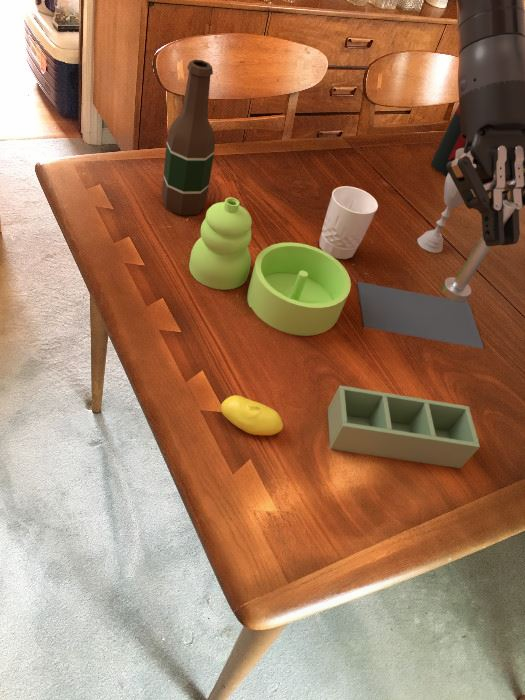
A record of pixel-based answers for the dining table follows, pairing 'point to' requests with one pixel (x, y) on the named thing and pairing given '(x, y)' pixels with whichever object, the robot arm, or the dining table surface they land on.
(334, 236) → the white cup
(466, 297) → the metal rod stand
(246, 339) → the dining table surface
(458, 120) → the wine bottle
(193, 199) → the beer bottle
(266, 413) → the yellow potato
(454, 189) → the chalice
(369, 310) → the mat
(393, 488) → the dining table surface
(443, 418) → the caddy
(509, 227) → the robot arm
